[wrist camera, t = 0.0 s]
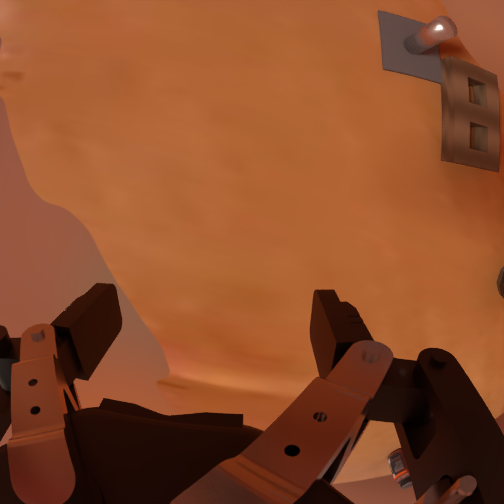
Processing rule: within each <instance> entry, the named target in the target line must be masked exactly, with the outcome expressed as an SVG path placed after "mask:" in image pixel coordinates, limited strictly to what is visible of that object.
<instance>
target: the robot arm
mask: <svg viewBox="0 0 504 504" xmlns="http://www.w3.org/2000/svg"><path fill="white" fill-rule="evenodd" d="M121 327H122V316H121V311H120V306H119V301H118V296H117V290H116V287H115V286H114V284H106V283H96V284H95V285H94V286H93V287H92V288H91V289H90V290H89V291H88V292H86V293H85V294H84V295H82V296H80V297H78V298H77V299H76V300H75V301H73V302H72V303H71V304H70V306H68V307H67V308H66V309H65V311H63V312H62V313H61V314H60V315H59V316H58V317H57V318H56V319H55V320H54V321H53V322H52V323H51V324H50V325H49V324H37V325H34V326H31V327H29V328H28V329H27V330H25V331H24V332H23V334H22V336H21V338H10V337H9V334H8V331H7V329H6V328H5V327H4V326H1V325H0V441H1V440H2V438H3V436H4V434H5V433H6V431H7V429H8V428H9V426H10V424H11V423H12V438H11V439H9V440H8V443H7V444H5V445H3V446H1V447H0V504H354V503H353V502H351V501H350V500H349V499H348V498H347V497H345V496H344V495H343V494H342V493H340V492H339V491H338V490H336V489H335V488H334V487H333V486H332V483H333V482H334V480H335V479H336V477H337V476H338V474H339V473H340V471H341V469H342V467H343V466H344V464H345V462H346V460H347V459H348V457H349V456H350V454H351V452H352V451H353V449H354V448H355V446H356V444H357V443H358V441H359V439H360V438H361V436H362V434H363V433H364V431H365V429H366V427H367V426H368V424H369V422H370V420H374V421H383V422H392V423H394V425H395V428H396V431H397V435H398V438H399V441H400V444H401V447H402V450H403V454H404V457H405V460H406V464H407V467H408V471H409V474H410V478H411V481H412V485H413V488H414V492H415V495H416V500H417V501H416V502H415V503H414V504H504V435H503V433H502V431H501V429H500V428H499V426H498V424H497V423H496V421H495V419H494V417H493V416H492V414H491V412H490V411H489V409H488V407H487V406H486V404H485V402H484V401H483V399H482V398H481V396H480V394H479V393H478V391H477V390H476V388H475V387H474V385H473V383H472V382H471V380H470V379H469V377H468V376H467V374H466V373H465V371H464V370H463V368H462V367H461V365H460V364H459V363H458V361H457V360H456V358H455V357H454V356H453V355H452V354H451V353H449V352H447V351H445V350H443V349H439V348H427V349H424V350H422V351H421V352H420V353H419V356H418V358H417V361H414V360H405V359H397V358H393V353H392V351H391V350H390V348H388V347H387V346H386V345H384V344H382V343H380V342H376V341H374V340H373V338H372V336H371V334H370V333H369V331H368V329H367V327H366V325H365V324H364V323H363V320H362V318H361V317H360V315H359V313H358V311H357V309H356V308H355V307H354V306H352V305H351V304H350V303H348V302H340V300H339V298H338V296H337V294H336V292H335V290H315V291H314V295H313V304H312V313H311V322H310V340H311V344H312V348H313V352H314V356H315V360H316V364H317V368H318V372H319V376H320V377H316V378H315V379H314V380H313V381H312V382H311V383H310V384H309V385H308V386H307V387H306V388H305V390H304V391H303V392H302V393H301V394H300V395H299V396H298V397H297V398H296V399H295V400H294V401H293V403H292V404H291V405H290V406H289V407H288V408H287V409H286V410H285V411H284V412H283V413H282V414H281V415H280V416H279V417H278V418H277V419H276V420H275V421H274V422H273V423H272V424H271V425H270V426H269V427H268V428H267V429H266V430H265V431H262V430H260V429H257V428H254V427H251V426H247V425H243V414H225V413H208V412H204V413H194V414H184V415H171V416H168V415H163V414H160V413H157V412H154V411H152V410H149V409H146V408H144V407H141V406H139V405H136V404H133V403H127V402H122V401H116V400H111V399H106V398H103V400H102V402H101V404H100V406H99V407H93V408H85V409H82V407H81V403H80V400H79V396H78V392H77V389H76V386H75V383H74V380H75V378H78V379H82V380H87V381H88V380H89V378H90V377H91V375H92V373H93V372H94V370H95V369H96V367H97V366H98V364H99V363H100V361H101V359H102V358H103V356H104V355H105V353H106V352H107V350H108V349H109V347H110V346H111V344H112V343H113V341H114V340H115V338H116V337H117V335H118V334H119V332H120V330H121Z"/></svg>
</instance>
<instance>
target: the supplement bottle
mask: <svg viewBox="0 0 504 504" xmlns="http://www.w3.org/2000/svg"><path fill="white" fill-rule="evenodd" d="M388 462H389V465H390V468H391V471H392V474H393V477H394V480H395V482H396V483H398V484H400V486H401V488H402V489H405V488H409V487H411V486H413V485H412V481H411V478H410V474H409V471H408V467H407V464H406V460H405V457H404V454H403V450H402V448H401V449H398V450H396V451H394V452H392V453H391V454H390V455H389V456H388Z"/></svg>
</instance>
